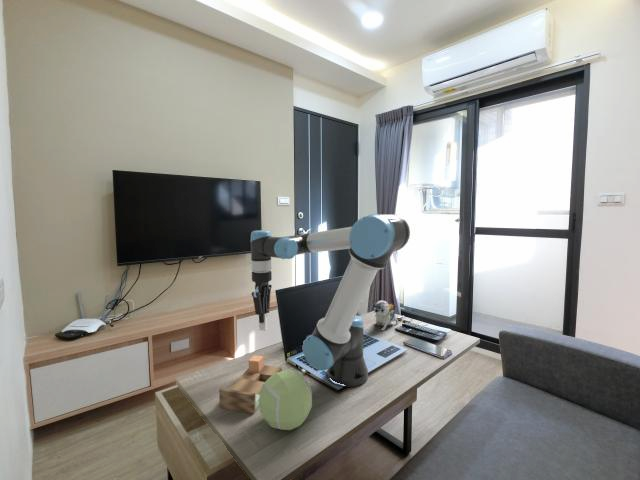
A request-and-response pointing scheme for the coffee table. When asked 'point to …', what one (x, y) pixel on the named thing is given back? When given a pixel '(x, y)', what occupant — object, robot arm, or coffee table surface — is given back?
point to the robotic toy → (384, 313)
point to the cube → (256, 363)
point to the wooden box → (246, 390)
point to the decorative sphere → (285, 400)
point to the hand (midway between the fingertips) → (263, 329)
